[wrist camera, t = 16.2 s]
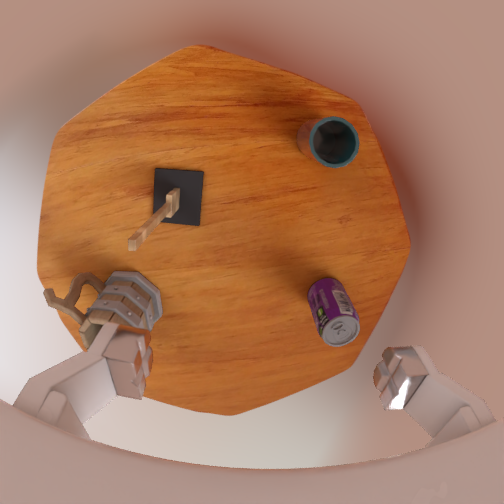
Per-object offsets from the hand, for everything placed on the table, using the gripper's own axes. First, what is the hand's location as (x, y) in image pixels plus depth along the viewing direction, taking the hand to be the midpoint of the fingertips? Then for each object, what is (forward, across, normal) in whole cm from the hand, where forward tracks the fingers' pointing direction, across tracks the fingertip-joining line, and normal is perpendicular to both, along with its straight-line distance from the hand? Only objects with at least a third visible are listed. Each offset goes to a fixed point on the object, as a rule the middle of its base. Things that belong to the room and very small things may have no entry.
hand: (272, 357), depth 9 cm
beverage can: (+39, -16, +20) cm, 47 cm away
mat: (+39, +12, +5) cm, 41 cm away
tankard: (+39, +24, +24) cm, 52 cm away
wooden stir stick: (+38, +12, +5) cm, 40 cm away
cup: (+39, -9, -7) cm, 41 cm away
